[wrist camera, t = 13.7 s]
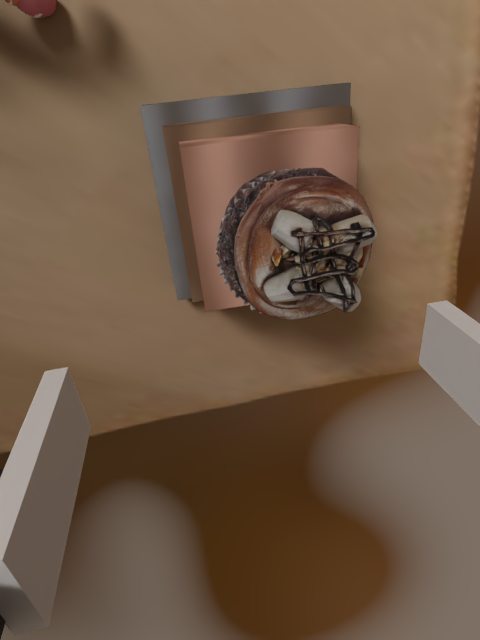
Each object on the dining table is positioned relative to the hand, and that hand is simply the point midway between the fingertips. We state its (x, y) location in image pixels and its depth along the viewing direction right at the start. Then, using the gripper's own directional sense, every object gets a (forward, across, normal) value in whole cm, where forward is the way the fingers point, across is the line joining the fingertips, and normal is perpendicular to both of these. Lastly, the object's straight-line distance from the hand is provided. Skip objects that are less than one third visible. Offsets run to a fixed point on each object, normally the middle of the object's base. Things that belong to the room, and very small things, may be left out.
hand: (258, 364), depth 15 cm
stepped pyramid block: (+27, +5, 0) cm, 28 cm away
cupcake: (+16, +5, 0) cm, 17 cm away
